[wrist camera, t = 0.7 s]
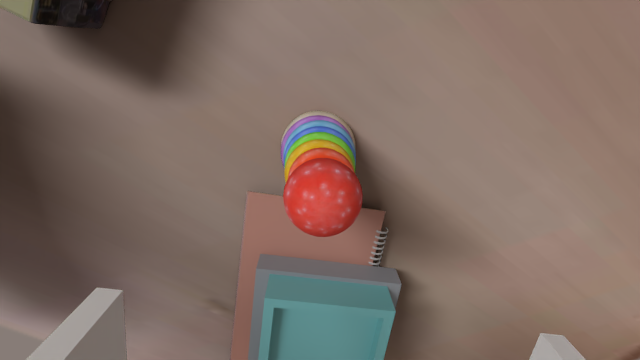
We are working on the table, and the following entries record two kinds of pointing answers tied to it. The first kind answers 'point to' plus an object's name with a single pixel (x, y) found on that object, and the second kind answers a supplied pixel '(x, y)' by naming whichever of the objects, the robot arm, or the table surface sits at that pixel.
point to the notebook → (293, 251)
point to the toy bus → (59, 11)
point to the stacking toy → (320, 174)
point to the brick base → (321, 310)
